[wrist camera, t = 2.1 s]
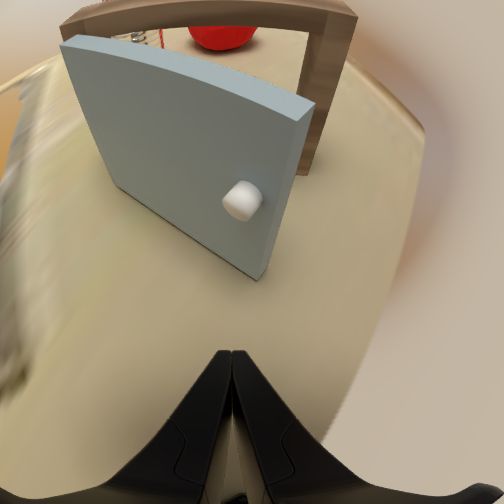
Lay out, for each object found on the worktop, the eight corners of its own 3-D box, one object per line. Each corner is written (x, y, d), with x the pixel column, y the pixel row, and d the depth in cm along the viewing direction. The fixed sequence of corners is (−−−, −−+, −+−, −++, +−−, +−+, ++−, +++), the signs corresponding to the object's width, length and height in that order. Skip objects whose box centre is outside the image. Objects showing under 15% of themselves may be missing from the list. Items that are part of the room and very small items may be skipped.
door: (248, 292, 23) (279, 139, 9) (106, 192, 26) (44, 54, 12) (267, 266, 24) (315, 103, 10) (124, 173, 28) (77, 34, 13)
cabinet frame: (307, 175, 29) (358, 16, 14) (113, 174, 28) (59, 26, 12) (302, 147, 31) (342, 0, 15) (122, 147, 30) (82, 7, 14)
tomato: (177, 56, 39) (173, -3, 29) (200, 31, 44) (199, -19, 34) (251, 62, 39) (256, -1, 29) (262, 36, 44) (268, -15, 34)
